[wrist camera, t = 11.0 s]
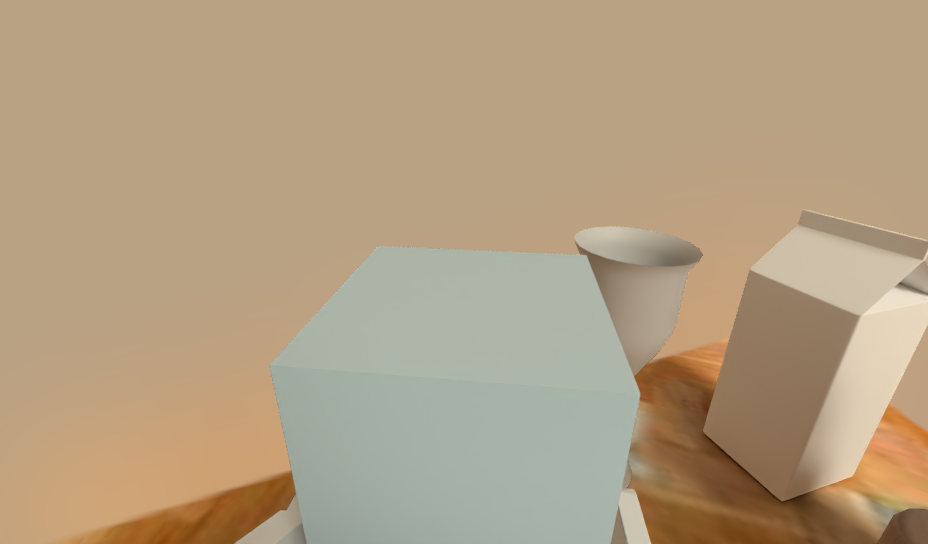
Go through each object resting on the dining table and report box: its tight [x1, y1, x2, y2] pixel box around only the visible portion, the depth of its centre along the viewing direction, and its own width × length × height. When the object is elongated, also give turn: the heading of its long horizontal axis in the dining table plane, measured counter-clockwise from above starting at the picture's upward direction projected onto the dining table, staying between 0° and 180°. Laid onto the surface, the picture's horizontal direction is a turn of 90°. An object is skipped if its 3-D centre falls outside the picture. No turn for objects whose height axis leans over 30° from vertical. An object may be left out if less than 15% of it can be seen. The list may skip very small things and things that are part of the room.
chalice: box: [575, 227, 703, 488], centre depth 29 cm, size 7×7×18 cm
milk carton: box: [703, 210, 928, 501], centre depth 30 cm, size 7×7×19 cm
